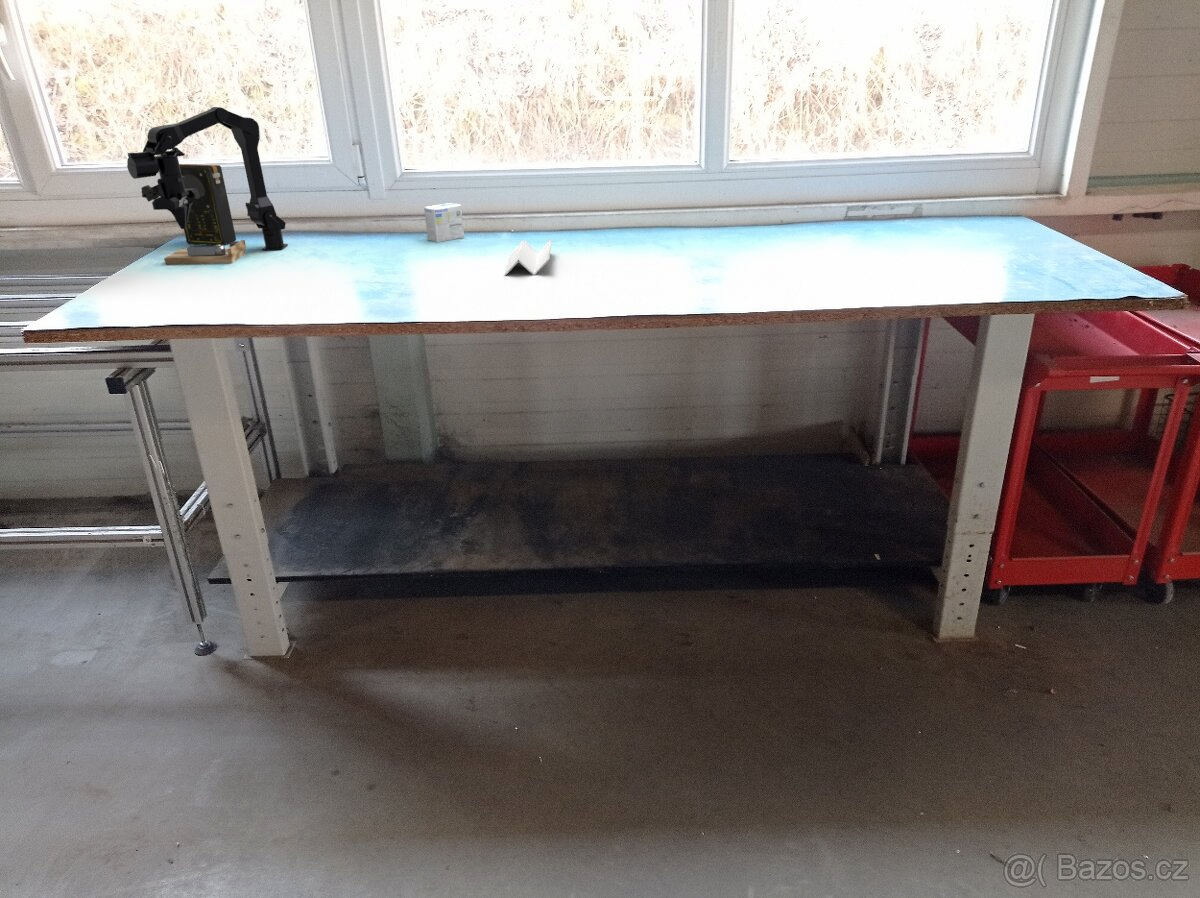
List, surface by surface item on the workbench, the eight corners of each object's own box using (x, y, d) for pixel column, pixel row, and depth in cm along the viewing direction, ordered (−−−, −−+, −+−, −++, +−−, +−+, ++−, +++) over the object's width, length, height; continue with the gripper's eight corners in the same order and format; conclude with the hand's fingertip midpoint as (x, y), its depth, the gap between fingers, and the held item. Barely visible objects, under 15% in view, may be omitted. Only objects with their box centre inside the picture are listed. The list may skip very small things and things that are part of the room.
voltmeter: (183, 244, 282) (165, 166, 271) (201, 239, 289) (184, 162, 278) (223, 247, 278) (206, 167, 266) (240, 241, 285) (224, 163, 274)
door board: (182, 255, 268) (179, 241, 266) (247, 253, 269) (245, 239, 267) (165, 264, 257) (162, 250, 255) (233, 263, 258) (230, 249, 256)
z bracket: (520, 290, 241) (503, 275, 239) (525, 268, 263) (510, 254, 261) (549, 260, 237) (532, 244, 235) (551, 239, 259) (536, 225, 257)
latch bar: (227, 252, 260) (225, 243, 259) (223, 255, 257) (221, 245, 256) (192, 253, 260) (189, 244, 259) (187, 256, 257) (185, 246, 256)
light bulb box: (454, 234, 288) (451, 201, 283) (465, 237, 283) (462, 204, 278) (426, 239, 282) (423, 206, 277) (436, 242, 277) (433, 209, 272)
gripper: (156, 169, 253) (169, 222, 259) (127, 180, 236) (141, 236, 243) (194, 168, 253) (206, 221, 260) (167, 178, 236) (180, 235, 243)
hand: (183, 228), depth 251 cm, fingers closed
